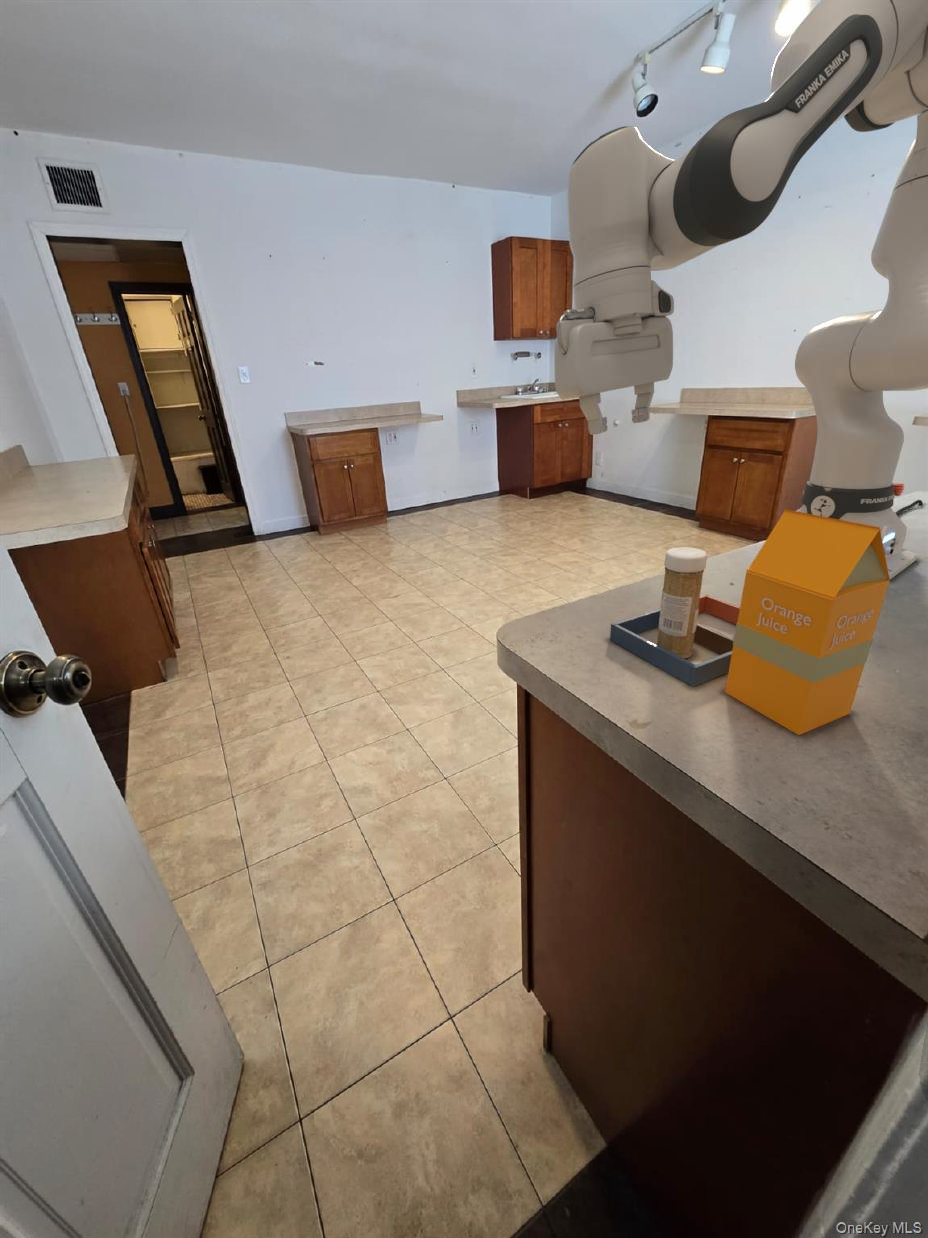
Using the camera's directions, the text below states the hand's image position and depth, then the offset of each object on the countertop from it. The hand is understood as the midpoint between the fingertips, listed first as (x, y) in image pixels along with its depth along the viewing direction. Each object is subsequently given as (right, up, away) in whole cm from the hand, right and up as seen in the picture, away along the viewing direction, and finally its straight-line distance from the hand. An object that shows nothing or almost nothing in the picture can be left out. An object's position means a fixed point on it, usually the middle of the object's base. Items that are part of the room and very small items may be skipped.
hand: (620, 427), depth 67 cm
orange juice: (+14, -34, -12) cm, 39 cm away
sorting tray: (+11, -28, +1) cm, 30 cm away
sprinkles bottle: (+7, -29, -1) cm, 30 cm away
